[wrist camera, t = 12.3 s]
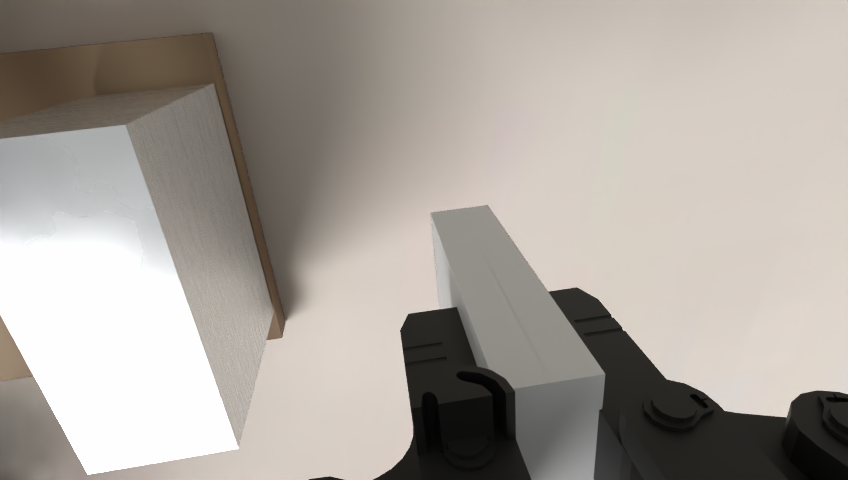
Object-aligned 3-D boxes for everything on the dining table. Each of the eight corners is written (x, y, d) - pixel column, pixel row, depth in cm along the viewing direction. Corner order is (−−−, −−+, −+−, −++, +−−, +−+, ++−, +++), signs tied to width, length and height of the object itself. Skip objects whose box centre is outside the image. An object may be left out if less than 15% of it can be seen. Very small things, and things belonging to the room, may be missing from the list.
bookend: (172, 327, 20) (87, 474, 13) (86, 96, 16) (-91, 149, 9) (273, 312, 20) (238, 448, 14) (213, 83, 16) (125, 124, 10)
